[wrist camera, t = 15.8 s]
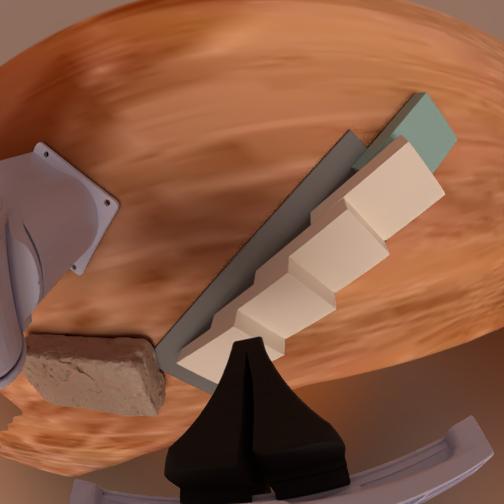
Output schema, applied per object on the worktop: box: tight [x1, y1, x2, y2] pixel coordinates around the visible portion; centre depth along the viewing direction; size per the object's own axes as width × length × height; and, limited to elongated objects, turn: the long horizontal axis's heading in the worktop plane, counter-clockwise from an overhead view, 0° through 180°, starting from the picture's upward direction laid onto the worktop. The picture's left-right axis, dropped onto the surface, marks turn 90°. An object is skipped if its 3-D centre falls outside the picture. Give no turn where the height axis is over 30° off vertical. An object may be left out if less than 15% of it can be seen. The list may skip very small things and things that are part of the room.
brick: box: [22, 334, 166, 417], centre depth 24 cm, size 17×8×5 cm, turn 94°
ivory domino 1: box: [310, 135, 445, 241], centre depth 19 cm, size 5×2×9 cm
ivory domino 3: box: [210, 257, 336, 339], centre depth 22 cm, size 5×2×9 cm
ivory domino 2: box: [254, 198, 390, 294], centre depth 21 cm, size 5×2×9 cm
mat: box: [154, 130, 386, 395], centre depth 24 cm, size 9×28×1 cm, turn 140°
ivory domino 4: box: [176, 310, 285, 384], centre depth 24 cm, size 5×2×9 cm
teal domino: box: [351, 92, 458, 174], centre depth 19 cm, size 5×2×9 cm
